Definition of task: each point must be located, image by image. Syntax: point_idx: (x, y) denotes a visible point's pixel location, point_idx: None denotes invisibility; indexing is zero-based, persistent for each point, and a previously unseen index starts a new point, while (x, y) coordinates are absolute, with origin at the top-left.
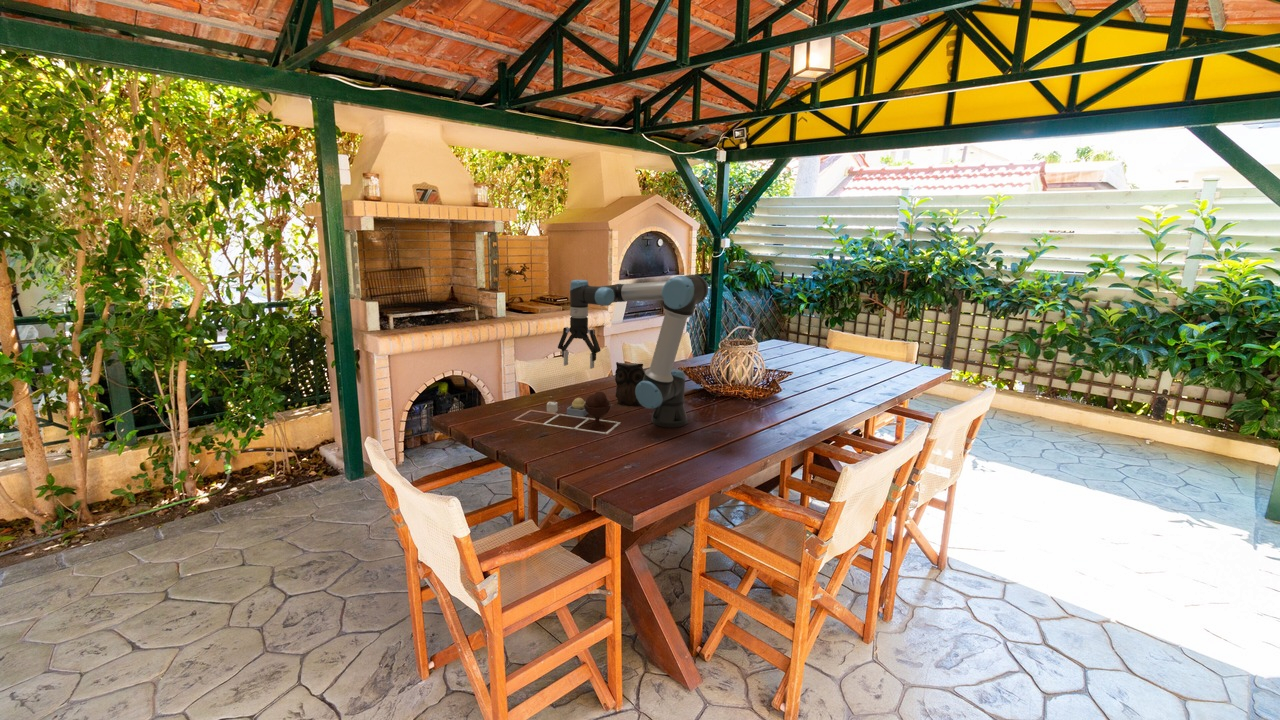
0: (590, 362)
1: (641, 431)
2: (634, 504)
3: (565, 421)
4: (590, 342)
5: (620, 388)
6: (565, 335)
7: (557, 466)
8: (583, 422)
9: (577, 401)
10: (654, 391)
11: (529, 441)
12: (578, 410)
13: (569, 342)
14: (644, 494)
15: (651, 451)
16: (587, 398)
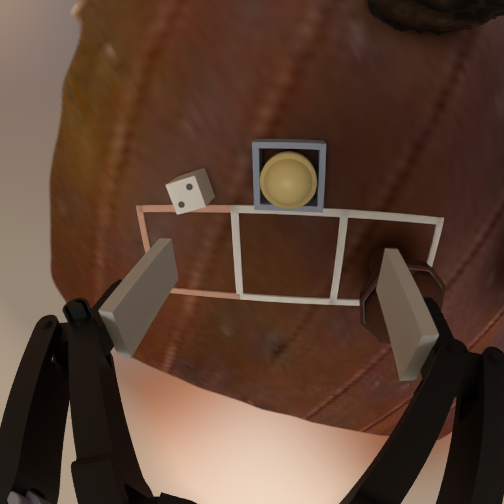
0: (388, 321)
1: (488, 260)
2: (440, 433)
3: (282, 255)
4: (419, 461)
5: (406, 4)
6: (50, 469)
7: (352, 418)
8: (341, 254)
9: (290, 204)
10: None
11: (267, 374)
12: (303, 210)
13: (126, 431)
14: (453, 421)
15: (488, 342)
16: (375, 335)
